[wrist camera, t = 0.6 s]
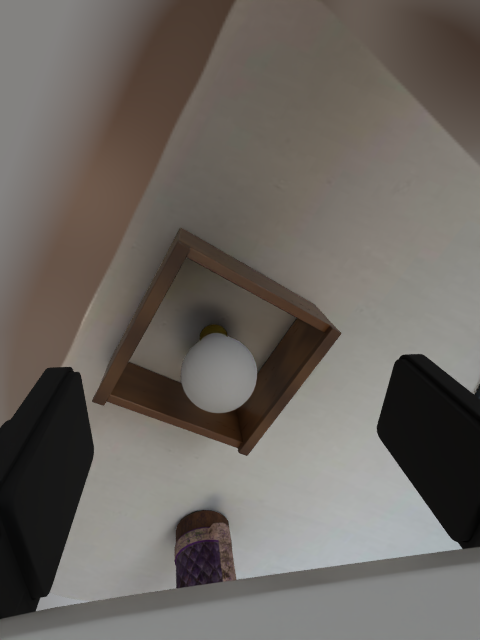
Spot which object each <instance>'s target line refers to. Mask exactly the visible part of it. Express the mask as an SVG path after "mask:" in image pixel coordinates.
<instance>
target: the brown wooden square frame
mask: <svg viewBox="0 0 480 640" xmlns="http://www.w3.org/2000/svg"><path fill="white" fill-rule="evenodd" d="M186 257H187V258H189V259H191V260H192V261H194V262H196V263H198V264H200V265H201V266H203V267H205V268H207V269H209V270H211V271H212V272H214V273H216V274H218V275H220V276H222V277H223V278H225V279H227V280H229V281H231V282H233V283H234V284H236V285H238V286H240V287H242V288H244V289H245V290H247V291H249V292H251V293H253V294H254V295H256V296H258V297H260V298H262V299H264V300H265V301H267V302H269V303H271V304H273V305H275V306H276V307H278V308H280V309H282V310H284V311H286V312H287V313H289V314H291V315H293V316H295V317H296V318H297V319H296V320H295V322H294V323H293V325H292V326H291V327H290V329H289V330H288V332H287V333H286V334H285V336H284V337H283V339H282V340H281V342H280V343H279V344H278V346H277V347H276V349H275V350H274V351H273V353H272V354H271V356H270V357H269V358H268V360H267V361H266V363H265V364H264V365H263V367H262V368H261V370H260V371H259V373H258V374H257V381H256V385H255V388H254V391H253V392H252V394H251V396H250V397H249V399H248V400H247V401H246V402H245V403H244V404H243V405H241V406H240V407H238V408H237V409H235V410H232V411H230V412H226V413H212V412H208V411H205V410H203V409H201V408H199V407H197V406H196V405H195V404H194V403H192V402H191V400H190V399H189V398H188V397H187V395H186V393H185V391H184V389H183V386H182V383H179V382H177V381H174V380H172V379H169V378H167V377H164V376H162V375H159V374H157V373H154V372H152V371H149V370H147V369H144V368H142V367H140V366H137V365H135V364H132V363H130V362H129V360H130V358H131V356H132V354H133V353H134V351H135V349H136V347H137V345H138V344H139V342H140V340H141V338H142V336H143V334H144V333H145V331H146V329H147V327H148V325H149V324H150V322H151V320H152V318H153V316H154V315H155V313H156V311H157V309H158V307H159V306H160V304H161V302H162V300H163V298H164V297H165V295H166V293H167V291H168V289H169V287H170V286H171V284H172V282H173V280H174V278H175V277H176V275H177V273H178V271H179V269H180V268H181V266H182V264H183V262H184V260H185V259H186ZM340 335H341V332H340V331H339V330H337V328H336V327H335V326H334V325H333V324H332V323H331V322H330V321H329V320H328V319H327V317H326V316H325V315H324V314H323V313H322V312H321V311H320V310H319V309H318V308H317V307H316V305H314V304H313V303H311V302H309V301H307V300H306V299H304V298H302V297H301V296H299V295H297V294H295V293H294V292H292V291H290V290H288V289H287V288H285V287H283V286H281V285H280V284H278V283H276V282H275V281H273V280H271V279H269V278H268V277H266V276H264V275H262V274H261V273H259V272H257V271H255V270H254V269H252V268H250V267H249V266H247V265H245V264H243V263H242V262H240V261H238V260H236V259H235V258H233V257H231V256H229V255H228V254H226V253H224V252H223V251H221V250H219V249H217V248H216V247H214V246H212V245H210V244H209V243H207V242H205V241H203V240H202V239H200V238H198V237H197V236H195V235H193V234H191V233H190V232H188V231H186V230H184V229H183V228H180V229H179V231H178V233H177V235H176V237H175V239H174V241H173V243H172V244H171V246H170V248H169V250H168V252H167V254H166V256H165V258H164V259H163V261H162V263H161V265H160V267H159V269H158V271H157V273H156V275H155V276H154V278H153V280H152V282H151V284H150V286H149V288H148V290H147V291H146V293H145V295H144V297H143V299H142V301H141V303H140V305H139V307H138V308H137V310H136V312H135V314H134V316H133V318H132V320H131V322H130V323H129V325H128V327H127V329H126V331H125V333H124V335H123V337H122V339H121V340H120V342H119V344H118V346H117V348H116V350H115V352H114V354H113V356H112V357H111V359H110V361H109V363H108V366H107V368H106V371H105V373H104V376H103V378H102V381H101V383H100V386H99V388H98V390H97V392H96V394H95V395H94V397H93V400H92V402H94V403H97V404H100V405H103V406H104V405H105V403H106V401H107V402H110V403H112V404H115V405H118V406H121V407H124V408H126V409H129V410H132V411H135V412H138V413H141V414H143V415H146V416H149V417H152V418H155V419H157V420H160V421H163V422H166V423H169V424H172V425H174V426H177V427H180V428H183V429H186V430H188V431H191V432H194V433H197V434H200V435H203V436H205V437H208V438H211V439H214V440H217V441H219V442H222V443H225V444H228V445H231V446H234V447H236V448H238V452H239V453H240V454H243V455H246V456H247V455H248V454H249V453H250V452H251V450H252V449H253V448H254V446H255V445H256V444H257V443H258V441H259V440H260V439H261V437H262V436H263V435H264V433H265V432H266V431H267V430H268V428H269V427H270V426H271V424H272V423H273V422H274V420H275V419H276V418H277V417H278V415H279V414H280V413H281V411H282V410H283V409H284V407H285V406H286V405H287V404H288V402H289V401H290V400H291V398H292V397H293V396H294V395H295V393H296V392H297V391H298V389H299V388H300V387H301V385H302V384H303V383H304V382H305V380H306V379H307V378H308V376H309V375H310V374H311V372H312V371H313V370H314V369H315V367H316V366H317V365H318V363H319V362H320V361H321V359H322V358H323V357H324V356H325V354H326V353H327V352H328V350H329V349H330V348H331V346H332V345H333V344H334V343H335V341H336V340H337V339H338V337H339V336H340Z"/></svg>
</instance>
